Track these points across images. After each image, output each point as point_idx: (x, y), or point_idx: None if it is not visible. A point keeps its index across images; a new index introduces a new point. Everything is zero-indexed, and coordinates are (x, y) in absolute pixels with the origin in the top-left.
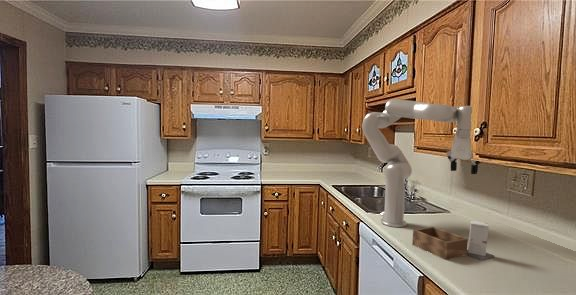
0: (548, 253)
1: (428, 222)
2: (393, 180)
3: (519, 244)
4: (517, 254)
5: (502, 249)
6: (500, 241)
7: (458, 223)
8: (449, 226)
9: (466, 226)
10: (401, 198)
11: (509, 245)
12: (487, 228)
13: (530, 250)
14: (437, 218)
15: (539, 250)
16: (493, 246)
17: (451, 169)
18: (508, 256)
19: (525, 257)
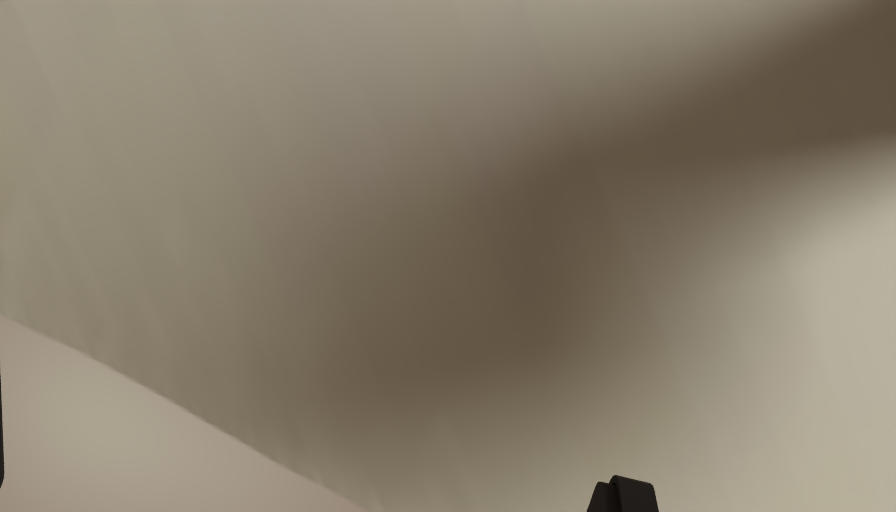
0: (7, 308)
1: (840, 324)
2: None
3: (168, 342)
4: (76, 117)
5: (172, 135)
6: (261, 304)
7: None
8: (656, 358)
9: (562, 461)
10: None
11: (190, 266)
12: None
13: (79, 276)
14: (821, 495)
15: (56, 322)
16: (235, 147)
17: (625, 495)
18: (82, 14)
19: (25, 101)
